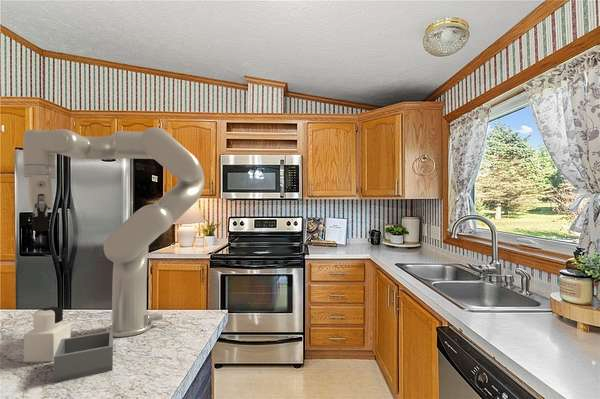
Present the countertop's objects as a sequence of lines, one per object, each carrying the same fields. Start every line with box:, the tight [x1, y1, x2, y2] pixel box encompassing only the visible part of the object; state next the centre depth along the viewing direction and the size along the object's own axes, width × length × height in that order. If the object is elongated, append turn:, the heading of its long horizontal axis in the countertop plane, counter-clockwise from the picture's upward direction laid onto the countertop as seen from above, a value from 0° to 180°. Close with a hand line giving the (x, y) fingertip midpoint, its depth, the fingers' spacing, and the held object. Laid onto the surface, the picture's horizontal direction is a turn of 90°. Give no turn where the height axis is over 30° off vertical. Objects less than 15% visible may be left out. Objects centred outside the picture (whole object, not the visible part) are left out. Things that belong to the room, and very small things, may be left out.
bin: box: [53, 331, 114, 383], centre depth 80 cm, size 11×11×6 cm
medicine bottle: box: [22, 306, 72, 363], centre depth 85 cm, size 7×7×12 cm
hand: (39, 230), depth 98 cm, fingers open, 9 cm apart
